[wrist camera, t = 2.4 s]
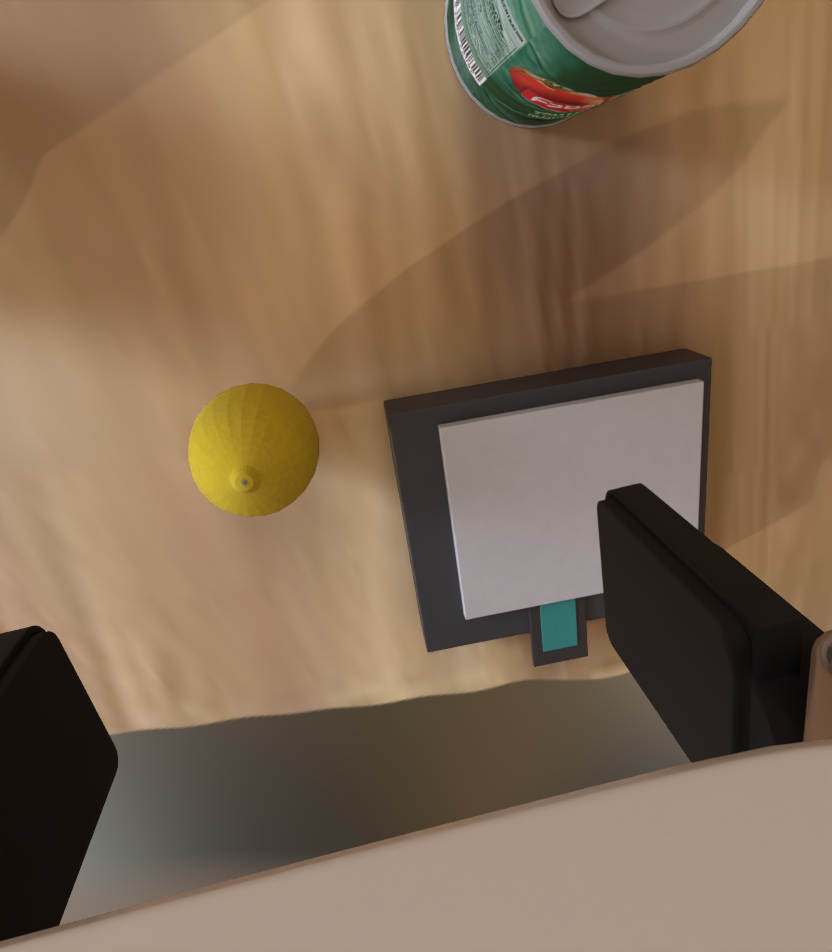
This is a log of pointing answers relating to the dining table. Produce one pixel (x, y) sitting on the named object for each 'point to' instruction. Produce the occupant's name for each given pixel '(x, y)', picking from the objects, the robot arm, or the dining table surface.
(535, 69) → the canned tomato
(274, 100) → the dining table surface
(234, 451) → the lemon
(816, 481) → the dining table surface
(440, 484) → the scale
